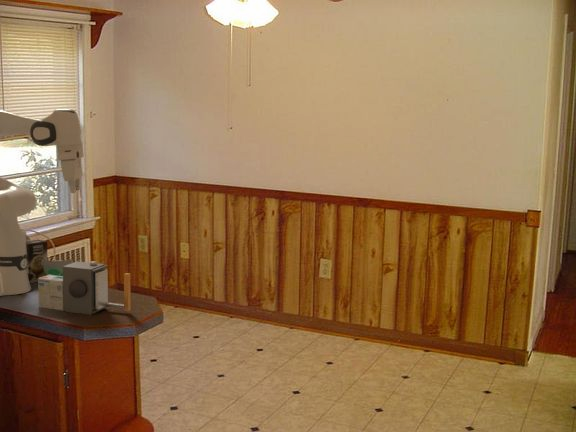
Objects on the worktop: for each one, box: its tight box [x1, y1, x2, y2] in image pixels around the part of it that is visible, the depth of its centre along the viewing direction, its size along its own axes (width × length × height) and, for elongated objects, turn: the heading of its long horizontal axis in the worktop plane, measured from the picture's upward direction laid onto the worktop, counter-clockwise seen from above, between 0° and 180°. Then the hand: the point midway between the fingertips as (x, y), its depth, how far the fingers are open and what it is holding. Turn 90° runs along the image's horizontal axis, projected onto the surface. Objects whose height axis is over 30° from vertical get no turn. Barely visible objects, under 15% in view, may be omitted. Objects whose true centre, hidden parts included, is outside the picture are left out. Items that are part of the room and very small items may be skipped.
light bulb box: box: [37, 275, 64, 312], centre depth 265 cm, size 11×7×11 cm, turn 70°
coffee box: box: [26, 239, 48, 284], centre depth 301 cm, size 9×6×16 cm
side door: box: [95, 268, 131, 312], centre depth 259 cm, size 10×6×14 cm, turn 73°
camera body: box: [63, 260, 109, 316], centre depth 261 cm, size 12×11×17 cm
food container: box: [41, 258, 74, 276], centre depth 296 cm, size 12×6×10 cm, turn 103°
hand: (75, 191), depth 272 cm, fingers open, 8 cm apart
